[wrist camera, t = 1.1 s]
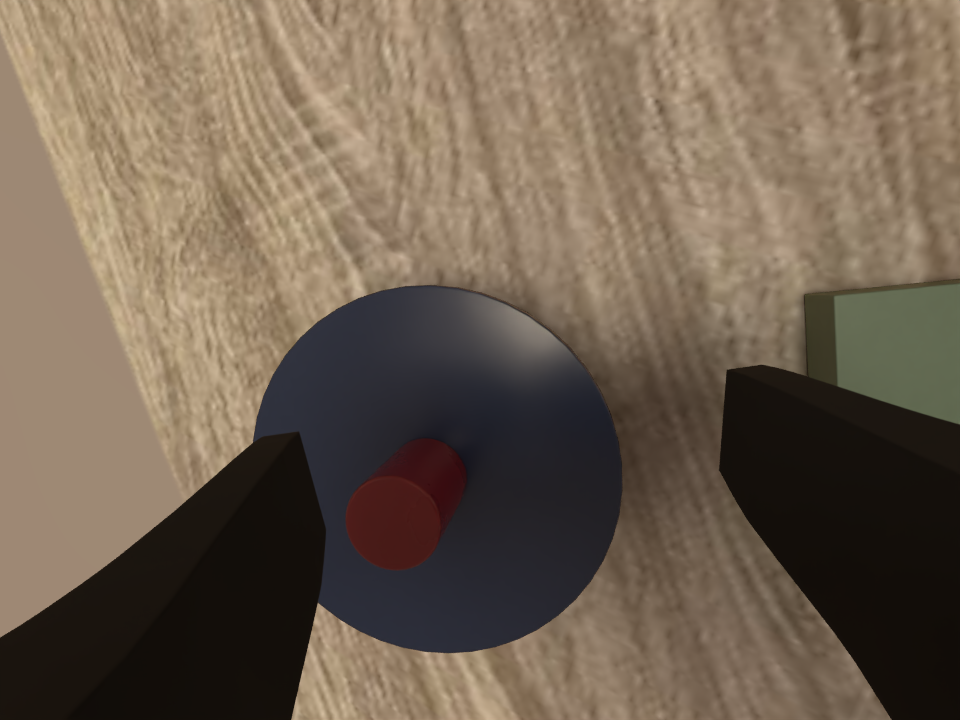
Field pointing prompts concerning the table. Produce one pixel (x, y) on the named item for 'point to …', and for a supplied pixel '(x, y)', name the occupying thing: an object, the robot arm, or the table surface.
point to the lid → (449, 465)
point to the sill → (890, 344)
